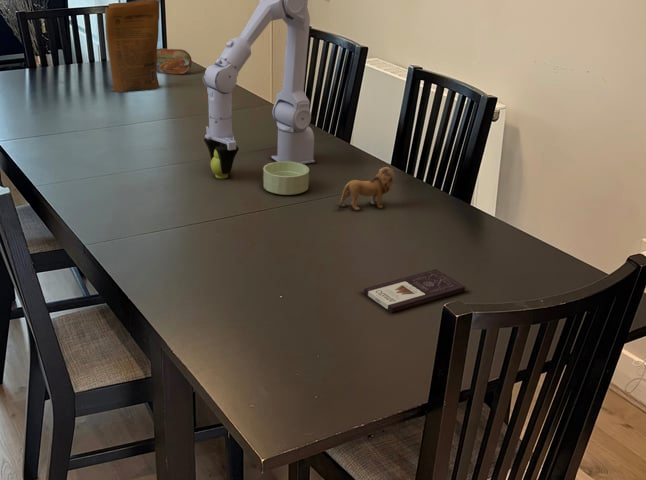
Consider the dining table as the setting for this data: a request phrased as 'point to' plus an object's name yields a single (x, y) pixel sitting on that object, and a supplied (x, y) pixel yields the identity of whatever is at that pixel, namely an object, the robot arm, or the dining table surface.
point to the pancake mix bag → (133, 44)
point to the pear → (217, 166)
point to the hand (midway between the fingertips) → (221, 169)
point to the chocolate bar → (413, 290)
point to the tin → (173, 61)
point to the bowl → (286, 177)
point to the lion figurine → (369, 188)
